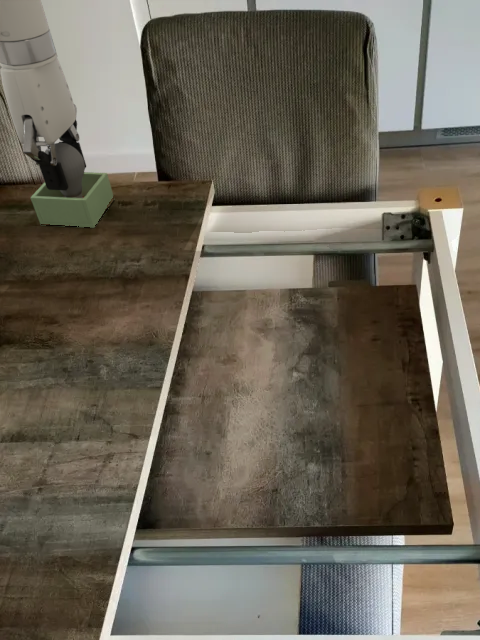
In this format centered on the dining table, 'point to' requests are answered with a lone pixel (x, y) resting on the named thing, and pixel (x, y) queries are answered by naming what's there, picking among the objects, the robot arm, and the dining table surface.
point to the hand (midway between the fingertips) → (67, 177)
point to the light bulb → (70, 169)
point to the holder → (74, 203)
